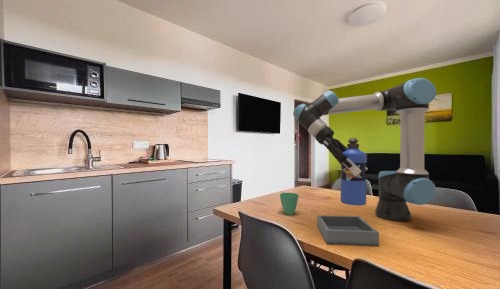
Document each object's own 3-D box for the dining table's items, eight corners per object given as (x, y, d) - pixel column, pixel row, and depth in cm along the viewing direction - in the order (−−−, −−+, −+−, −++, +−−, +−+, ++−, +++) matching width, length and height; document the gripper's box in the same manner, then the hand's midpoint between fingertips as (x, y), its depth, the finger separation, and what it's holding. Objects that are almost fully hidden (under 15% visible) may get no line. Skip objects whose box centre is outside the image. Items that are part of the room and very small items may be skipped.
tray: (359, 227, 97) (359, 216, 97) (379, 246, 79) (378, 232, 79) (317, 226, 99) (317, 215, 99) (327, 244, 81) (326, 230, 81)
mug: (301, 215, 115) (301, 196, 115) (284, 216, 113) (283, 197, 113) (290, 207, 129) (290, 190, 129) (274, 208, 127) (274, 191, 127)
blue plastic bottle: (365, 206, 79) (365, 137, 79) (338, 203, 84) (338, 137, 84) (367, 201, 87) (367, 138, 87) (342, 198, 92) (342, 138, 92)
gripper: (325, 139, 104) (361, 175, 94) (303, 137, 87) (345, 182, 77) (336, 127, 101) (375, 163, 91) (316, 123, 84) (362, 168, 74)
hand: (361, 172), depth 84 cm, fingers closed on blue plastic bottle, 9 cm apart
